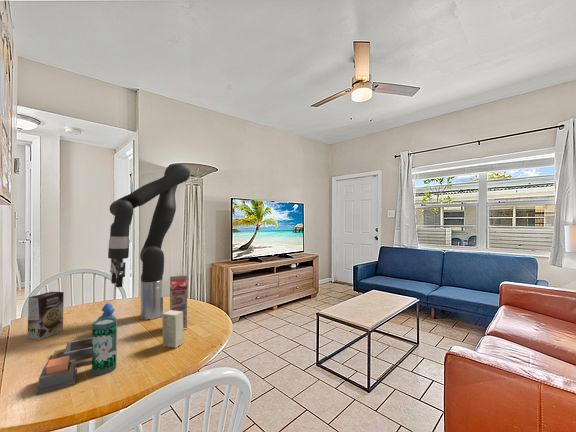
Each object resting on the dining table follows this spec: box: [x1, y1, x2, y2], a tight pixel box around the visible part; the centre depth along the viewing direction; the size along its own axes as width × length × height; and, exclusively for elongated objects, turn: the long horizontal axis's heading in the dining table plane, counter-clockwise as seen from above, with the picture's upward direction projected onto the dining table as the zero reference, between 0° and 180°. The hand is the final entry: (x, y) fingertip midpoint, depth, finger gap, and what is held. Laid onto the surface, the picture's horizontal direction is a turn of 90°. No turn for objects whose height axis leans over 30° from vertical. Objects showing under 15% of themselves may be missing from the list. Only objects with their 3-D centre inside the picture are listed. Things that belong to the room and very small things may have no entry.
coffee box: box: [26, 291, 65, 341], centre depth 110 cm, size 9×6×16 cm
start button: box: [46, 356, 70, 375], centre depth 79 cm, size 5×5×3 cm
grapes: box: [96, 302, 117, 320], centre depth 110 cm, size 12×7×12 cm, turn 46°
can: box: [91, 317, 118, 376], centre depth 85 cm, size 6×6×15 cm
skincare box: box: [161, 309, 185, 348], centre depth 102 cm, size 6×4×12 cm
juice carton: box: [169, 275, 188, 328], centre depth 118 cm, size 7×7×22 cm
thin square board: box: [50, 337, 92, 369], centre depth 93 cm, size 17×14×4 cm
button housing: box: [36, 359, 78, 395], centre depth 78 cm, size 8×8×4 cm
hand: (116, 285), depth 117 cm, fingers open, 8 cm apart
